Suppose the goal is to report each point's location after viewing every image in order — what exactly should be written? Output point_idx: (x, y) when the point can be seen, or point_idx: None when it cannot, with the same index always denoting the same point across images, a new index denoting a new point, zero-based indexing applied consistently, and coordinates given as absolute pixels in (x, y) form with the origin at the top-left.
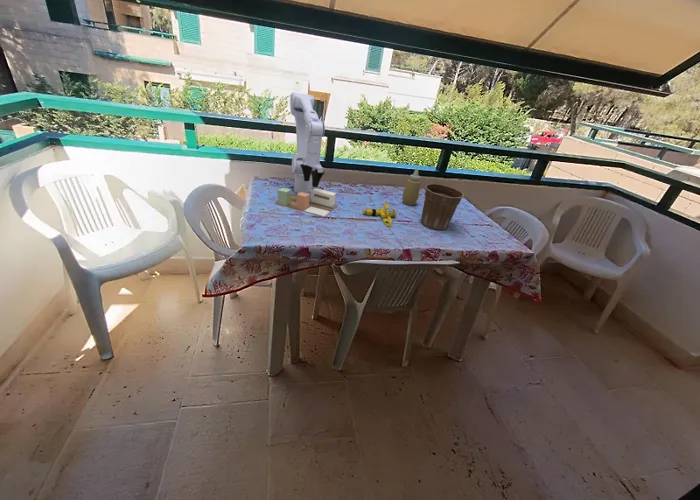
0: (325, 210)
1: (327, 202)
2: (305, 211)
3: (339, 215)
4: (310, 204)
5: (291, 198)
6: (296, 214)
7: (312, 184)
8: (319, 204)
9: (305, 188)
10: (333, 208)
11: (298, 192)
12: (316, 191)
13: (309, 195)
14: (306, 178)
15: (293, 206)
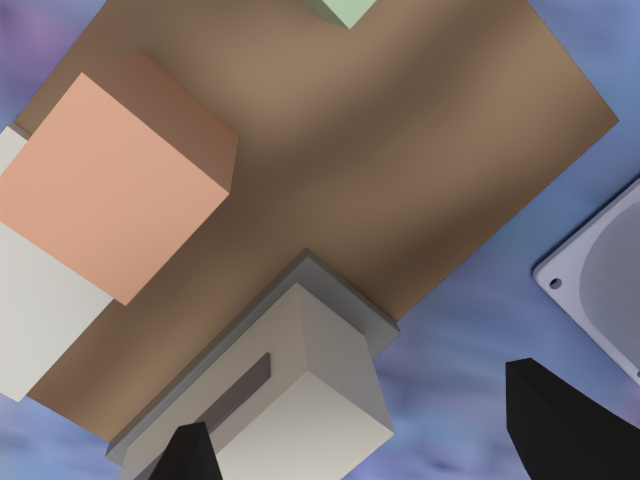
0: (40, 367)
1: (155, 443)
2: (2, 136)
3: (23, 454)
4: (254, 261)
5: (469, 81)
6: (5, 10)
7: (187, 450)
8: (209, 351)
9: (619, 322)
10: (110, 452)
11: (624, 223)
12: (252, 420)
13: (117, 287)
14: (529, 423)
15: (194, 26)
